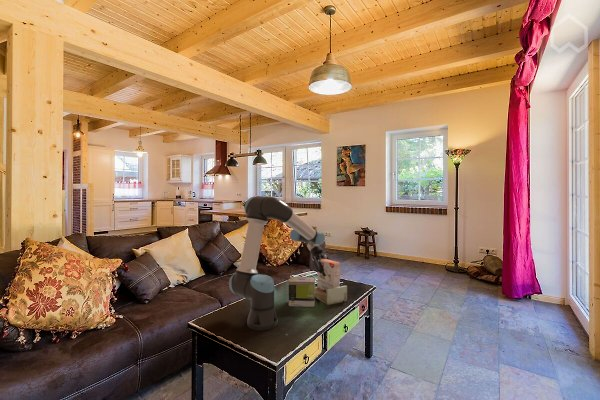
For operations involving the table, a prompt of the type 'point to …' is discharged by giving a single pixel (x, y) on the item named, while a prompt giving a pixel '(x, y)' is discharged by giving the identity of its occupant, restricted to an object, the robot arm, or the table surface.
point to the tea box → (302, 291)
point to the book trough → (332, 295)
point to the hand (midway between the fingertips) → (332, 279)
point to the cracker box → (333, 273)
